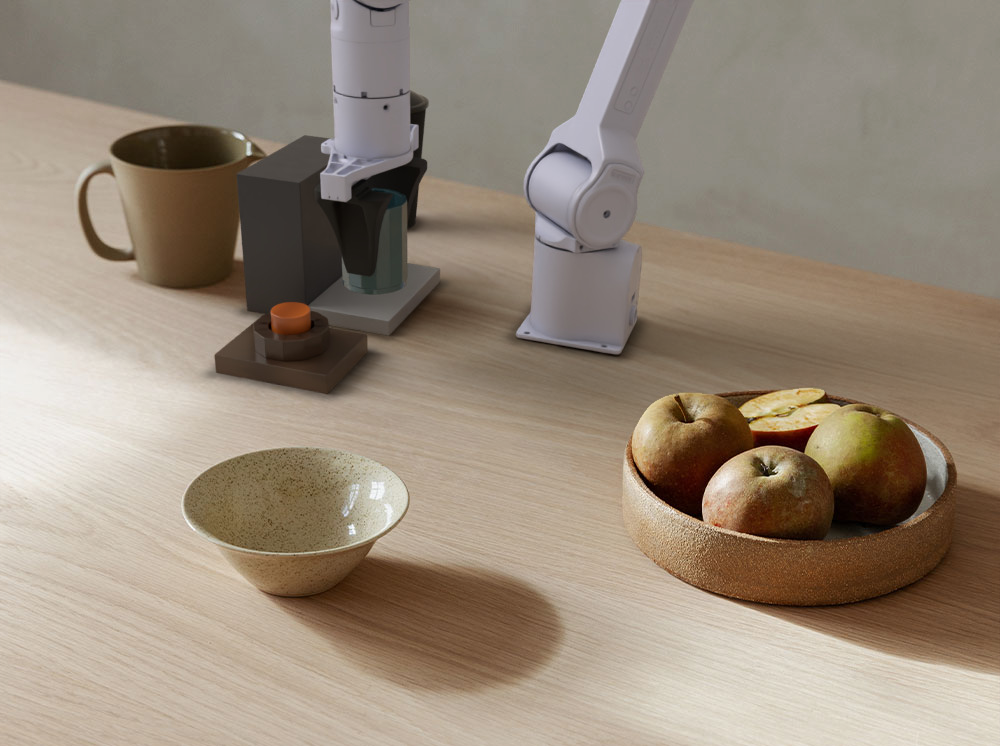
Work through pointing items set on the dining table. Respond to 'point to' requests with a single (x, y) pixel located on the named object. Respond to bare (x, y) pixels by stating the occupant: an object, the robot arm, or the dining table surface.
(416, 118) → the drinking cup
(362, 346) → the button block
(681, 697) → the dining table surface
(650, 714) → the dining table surface
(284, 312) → the brew button
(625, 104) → the robot arm
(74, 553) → the dining table surface
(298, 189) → the coffee maker
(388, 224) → the creamer cup
